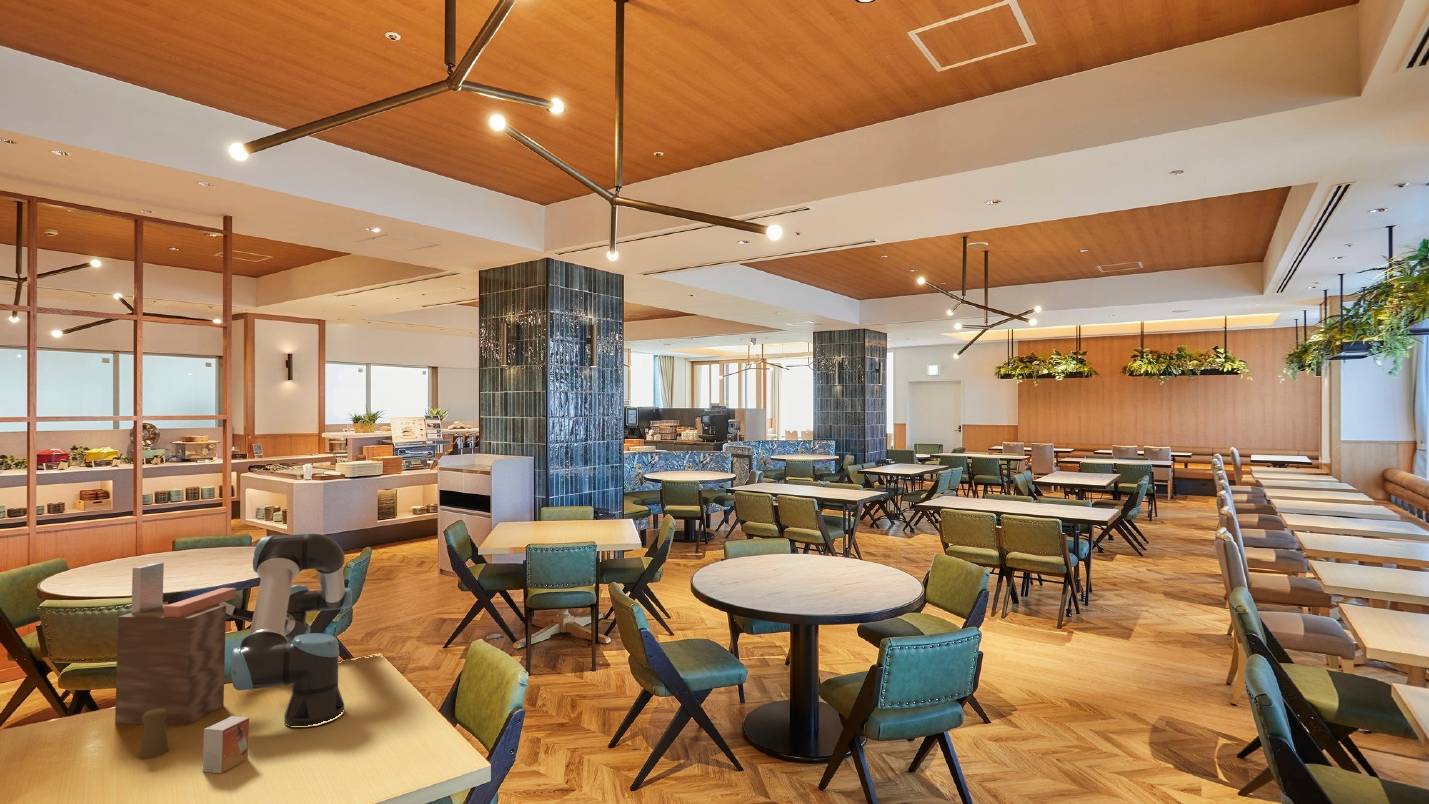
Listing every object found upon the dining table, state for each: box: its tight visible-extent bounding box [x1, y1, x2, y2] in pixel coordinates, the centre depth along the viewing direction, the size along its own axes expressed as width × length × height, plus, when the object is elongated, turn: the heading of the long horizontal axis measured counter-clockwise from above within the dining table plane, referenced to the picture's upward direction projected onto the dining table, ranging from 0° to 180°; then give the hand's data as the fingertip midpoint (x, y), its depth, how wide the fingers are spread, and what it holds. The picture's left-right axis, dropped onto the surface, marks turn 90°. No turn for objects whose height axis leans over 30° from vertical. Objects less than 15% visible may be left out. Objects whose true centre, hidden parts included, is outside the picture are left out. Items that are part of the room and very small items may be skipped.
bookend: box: [130, 561, 165, 613], centre depth 208 cm, size 8×2×13 cm, turn 177°
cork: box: [138, 708, 170, 760], centre depth 182 cm, size 6×6×11 cm
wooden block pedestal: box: [114, 603, 227, 727], centre depth 206 cm, size 14×21×30 cm, turn 87°
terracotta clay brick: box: [164, 587, 237, 617], centre depth 211 cm, size 22×4×3 cm, turn 177°
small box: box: [202, 715, 250, 774], centre depth 176 cm, size 8×6×10 cm
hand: (240, 605), depth 227 cm, fingers open, 13 cm apart
